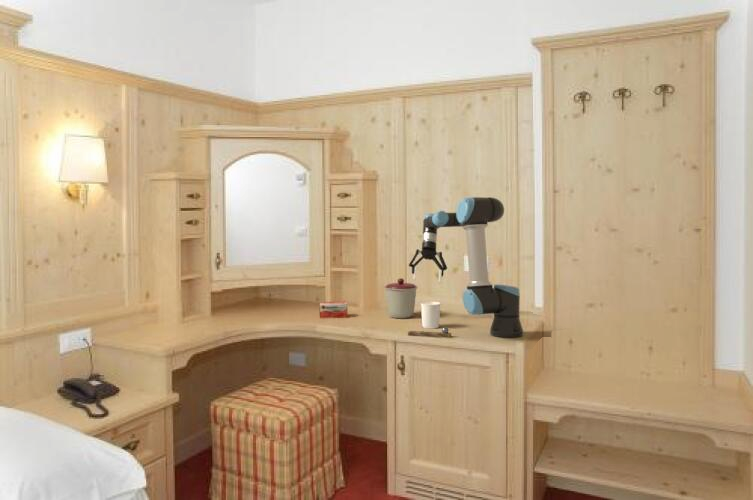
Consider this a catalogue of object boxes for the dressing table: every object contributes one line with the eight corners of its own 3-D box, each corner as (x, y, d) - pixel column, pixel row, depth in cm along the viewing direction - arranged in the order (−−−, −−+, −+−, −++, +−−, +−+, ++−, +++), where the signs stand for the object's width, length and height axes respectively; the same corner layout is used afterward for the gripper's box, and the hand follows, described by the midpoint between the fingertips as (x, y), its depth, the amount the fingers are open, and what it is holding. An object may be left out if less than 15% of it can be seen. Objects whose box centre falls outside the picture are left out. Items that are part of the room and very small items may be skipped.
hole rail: (451, 336, 292) (451, 332, 291) (449, 337, 288) (449, 334, 288) (409, 334, 297) (409, 330, 297) (408, 335, 294) (408, 332, 294)
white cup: (423, 329, 308) (423, 305, 307) (418, 325, 317) (418, 302, 316) (443, 328, 310) (442, 304, 309) (437, 324, 319) (437, 301, 318)
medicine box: (319, 318, 339) (319, 304, 338) (320, 316, 347) (319, 301, 347) (347, 318, 340) (347, 303, 339) (347, 315, 348) (347, 301, 348)
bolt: (448, 332, 291) (448, 327, 291) (447, 334, 289) (447, 328, 289) (442, 332, 292) (442, 327, 292) (441, 333, 290) (441, 328, 289)
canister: (423, 318, 336) (423, 279, 334) (392, 321, 330) (391, 281, 328) (409, 312, 353) (408, 275, 351) (379, 315, 346) (379, 277, 345)
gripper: (450, 246, 339) (448, 285, 333) (405, 241, 337) (402, 280, 331) (453, 243, 332) (452, 281, 326) (407, 237, 330) (404, 277, 324)
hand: (427, 281), depth 328 cm, fingers open, 13 cm apart
